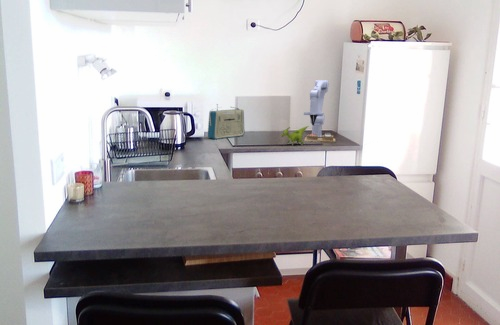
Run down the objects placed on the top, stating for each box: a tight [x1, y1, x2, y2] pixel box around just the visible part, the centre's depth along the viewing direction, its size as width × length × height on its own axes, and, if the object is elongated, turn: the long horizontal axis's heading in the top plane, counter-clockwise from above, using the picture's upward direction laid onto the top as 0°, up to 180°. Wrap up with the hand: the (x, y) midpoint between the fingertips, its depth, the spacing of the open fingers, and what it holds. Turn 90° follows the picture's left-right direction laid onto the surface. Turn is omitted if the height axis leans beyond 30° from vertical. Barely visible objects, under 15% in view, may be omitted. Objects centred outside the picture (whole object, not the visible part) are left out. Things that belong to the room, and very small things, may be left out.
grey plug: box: [324, 132, 332, 137], centre depth 350 cm, size 4×4×4 cm
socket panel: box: [303, 133, 336, 144], centre depth 351 cm, size 12×22×4 cm, turn 81°
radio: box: [207, 103, 246, 140], centre depth 354 cm, size 30×8×25 cm, turn 131°
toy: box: [280, 125, 309, 146], centre depth 333 cm, size 8×21×15 cm, turn 115°
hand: (313, 125), depth 354 cm, fingers closed
